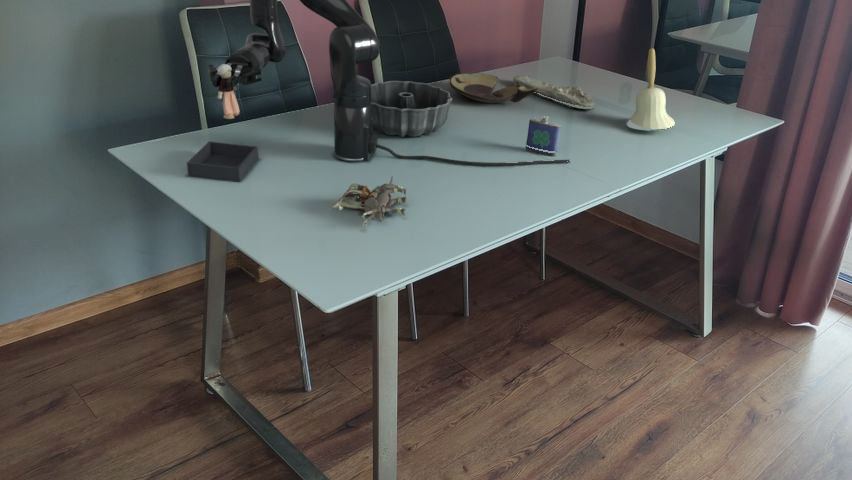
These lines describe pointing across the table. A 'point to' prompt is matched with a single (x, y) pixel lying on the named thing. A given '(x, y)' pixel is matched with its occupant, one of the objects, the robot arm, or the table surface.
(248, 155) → the pan
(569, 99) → the elongated rock
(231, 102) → the grandmother figurine
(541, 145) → the flask
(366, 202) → the figurine
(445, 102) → the bundt pan
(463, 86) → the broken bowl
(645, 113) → the handbell
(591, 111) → the table surface
